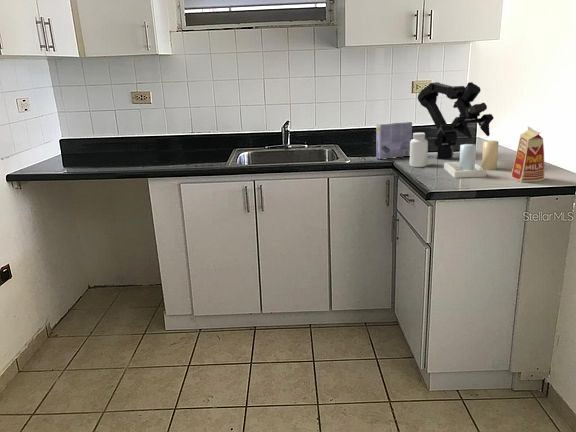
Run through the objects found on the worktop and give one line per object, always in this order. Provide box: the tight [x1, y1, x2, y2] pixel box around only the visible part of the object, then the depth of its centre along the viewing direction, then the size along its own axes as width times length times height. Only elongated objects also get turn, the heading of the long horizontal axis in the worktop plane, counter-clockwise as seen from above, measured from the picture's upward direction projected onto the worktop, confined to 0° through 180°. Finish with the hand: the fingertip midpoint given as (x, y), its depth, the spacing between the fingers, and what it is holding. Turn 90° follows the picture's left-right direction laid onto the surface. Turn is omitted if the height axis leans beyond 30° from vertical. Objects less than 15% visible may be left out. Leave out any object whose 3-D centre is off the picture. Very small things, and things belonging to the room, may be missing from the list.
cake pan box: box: [375, 121, 413, 160], centre depth 250 cm, size 19×5×18 cm, turn 108°
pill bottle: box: [408, 132, 429, 168], centre depth 226 cm, size 8×8×15 cm
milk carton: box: [510, 126, 545, 183], centre depth 187 cm, size 9×9×20 cm
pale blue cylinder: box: [459, 143, 477, 171], centre depth 201 cm, size 6×6×12 cm
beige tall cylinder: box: [481, 140, 500, 171], centre depth 210 cm, size 6×6×12 cm
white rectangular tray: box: [443, 161, 487, 179], centre depth 207 cm, size 20×12×3 cm, turn 175°
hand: (479, 136), depth 216 cm, fingers open, 9 cm apart
